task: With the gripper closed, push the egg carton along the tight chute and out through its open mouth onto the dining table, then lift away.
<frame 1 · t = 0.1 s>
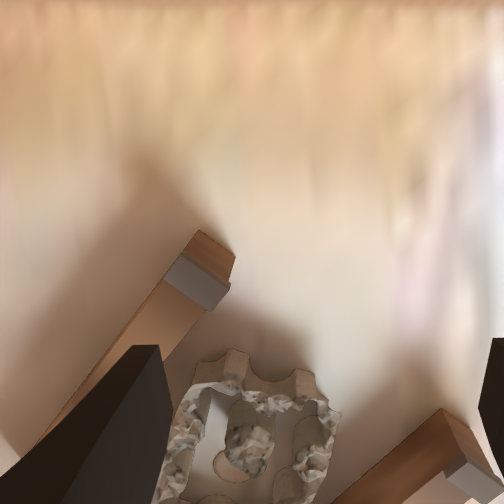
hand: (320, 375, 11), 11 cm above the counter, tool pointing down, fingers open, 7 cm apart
chute: (234, 446, 25), on the counter
egg carton: (240, 434, 25), on the counter
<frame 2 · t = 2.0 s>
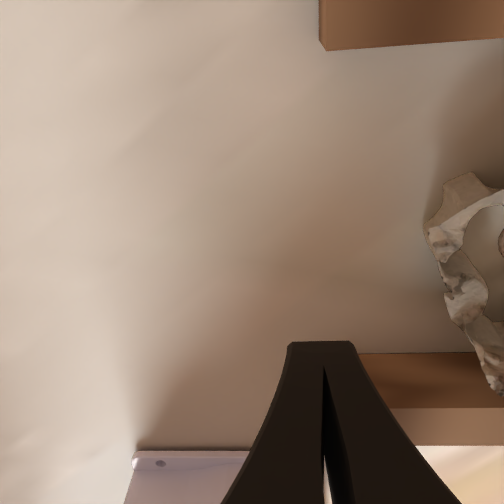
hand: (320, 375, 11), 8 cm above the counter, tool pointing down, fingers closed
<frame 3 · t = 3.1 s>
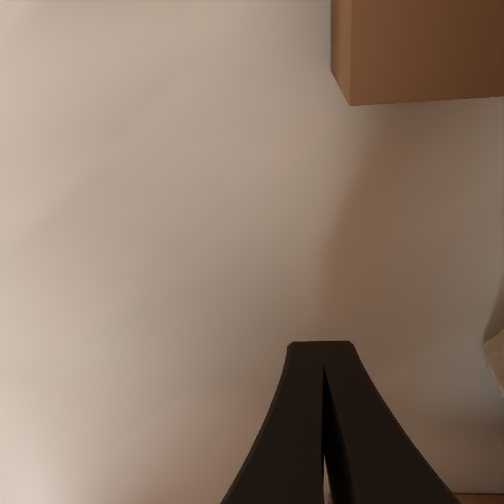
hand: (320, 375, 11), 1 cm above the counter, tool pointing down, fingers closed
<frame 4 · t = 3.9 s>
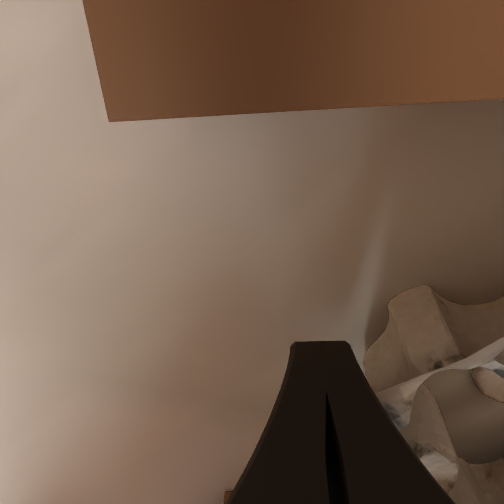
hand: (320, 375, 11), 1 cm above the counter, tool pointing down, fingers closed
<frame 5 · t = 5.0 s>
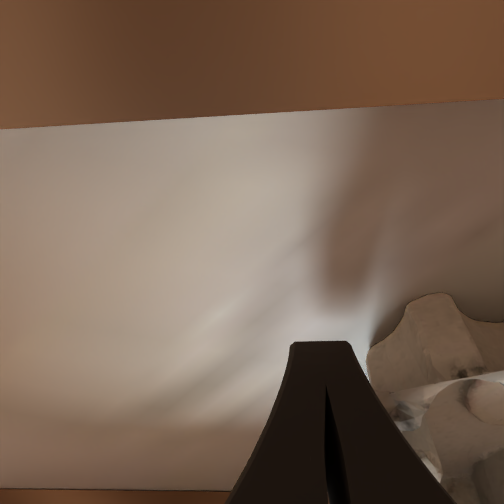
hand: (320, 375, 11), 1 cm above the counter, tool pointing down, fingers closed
chute: (226, 337, 12), on the counter
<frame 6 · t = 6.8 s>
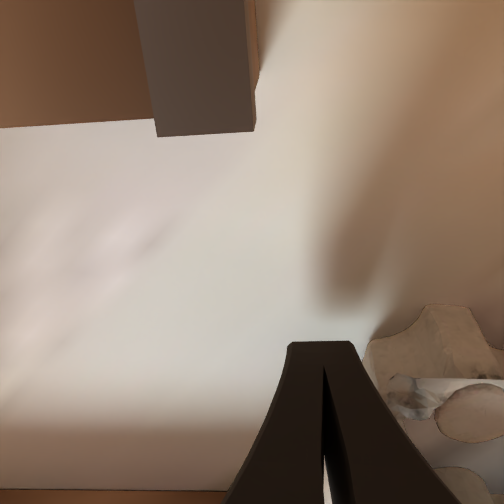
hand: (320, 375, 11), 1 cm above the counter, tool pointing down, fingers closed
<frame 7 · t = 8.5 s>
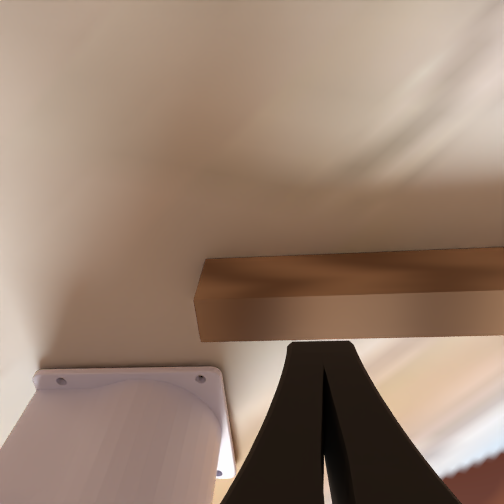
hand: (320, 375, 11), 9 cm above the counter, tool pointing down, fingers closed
chute: (425, 93, 16), on the counter
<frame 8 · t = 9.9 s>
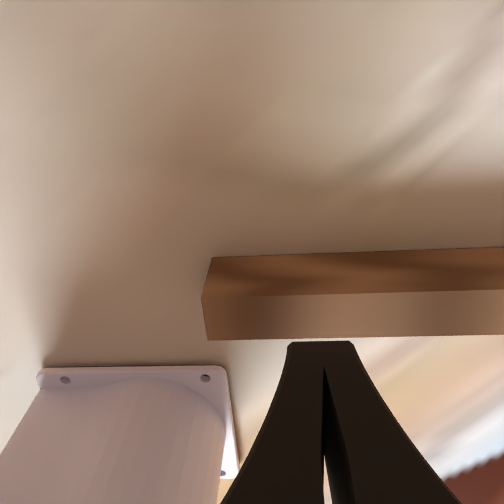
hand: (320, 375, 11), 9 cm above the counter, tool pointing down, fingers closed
chute: (434, 93, 16), on the counter
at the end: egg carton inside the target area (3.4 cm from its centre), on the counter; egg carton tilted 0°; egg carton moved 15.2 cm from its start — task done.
